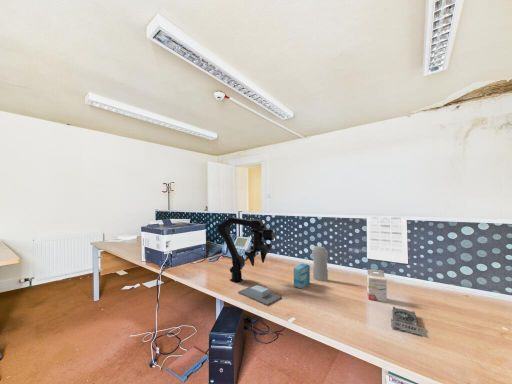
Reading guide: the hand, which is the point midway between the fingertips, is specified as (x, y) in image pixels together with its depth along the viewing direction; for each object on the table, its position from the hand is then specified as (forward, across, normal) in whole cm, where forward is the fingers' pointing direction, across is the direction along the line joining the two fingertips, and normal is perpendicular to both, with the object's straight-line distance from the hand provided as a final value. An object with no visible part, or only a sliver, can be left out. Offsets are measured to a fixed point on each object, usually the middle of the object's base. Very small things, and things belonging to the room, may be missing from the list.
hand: (258, 264), depth 139 cm
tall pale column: (+12, +32, -26) cm, 43 cm away
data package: (+12, +16, -22) cm, 30 cm away
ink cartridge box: (+12, +27, -61) cm, 68 cm away
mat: (+12, -12, -12) cm, 21 cm away
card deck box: (+11, -12, -12) cm, 20 cm away
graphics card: (+13, +11, -77) cm, 79 cm away
